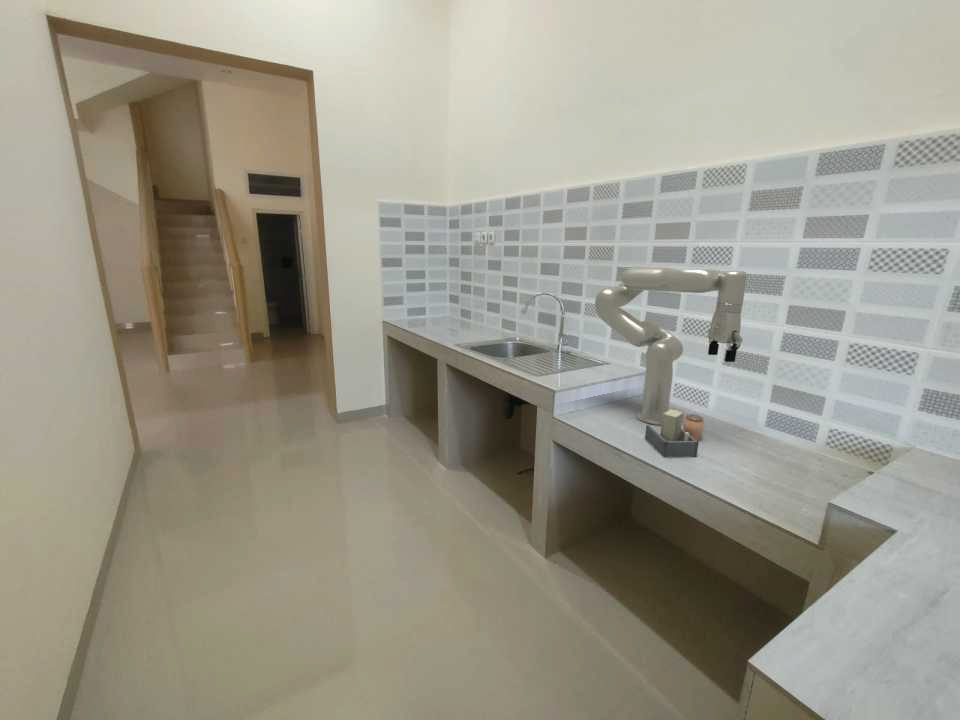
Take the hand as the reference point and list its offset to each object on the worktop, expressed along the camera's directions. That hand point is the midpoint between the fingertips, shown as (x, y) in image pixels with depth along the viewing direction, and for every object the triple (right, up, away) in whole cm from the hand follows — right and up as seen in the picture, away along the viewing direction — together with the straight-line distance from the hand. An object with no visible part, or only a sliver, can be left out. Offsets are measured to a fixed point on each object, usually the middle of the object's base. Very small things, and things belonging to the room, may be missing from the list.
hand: (720, 358), depth 144 cm
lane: (-19, -30, -4) cm, 36 cm away
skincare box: (-19, -30, -3) cm, 36 cm away
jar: (-8, -28, +4) cm, 30 cm away
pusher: (-19, -31, -7) cm, 37 cm away
